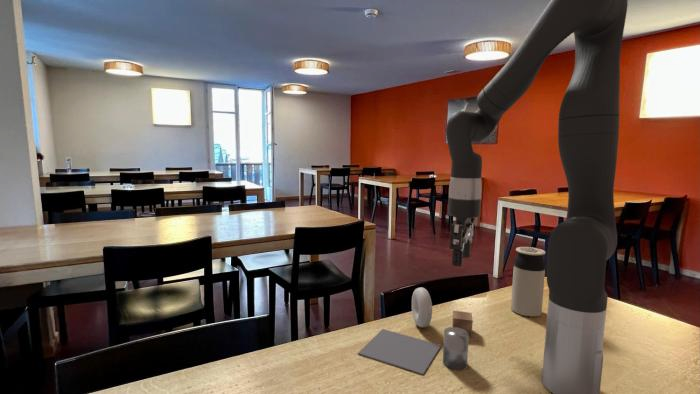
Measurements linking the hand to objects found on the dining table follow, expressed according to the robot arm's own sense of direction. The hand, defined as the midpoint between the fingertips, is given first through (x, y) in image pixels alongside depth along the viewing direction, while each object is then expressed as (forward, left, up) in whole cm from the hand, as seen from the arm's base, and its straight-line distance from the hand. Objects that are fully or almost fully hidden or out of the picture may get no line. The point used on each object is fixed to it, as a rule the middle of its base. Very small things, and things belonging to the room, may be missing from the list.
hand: (461, 261), depth 91 cm
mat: (+9, +16, -18) cm, 26 cm away
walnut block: (-1, 0, -18) cm, 18 cm away
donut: (+9, +2, -18) cm, 20 cm away
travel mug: (-14, -22, -18) cm, 32 cm away
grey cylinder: (-3, +15, -18) cm, 24 cm away
